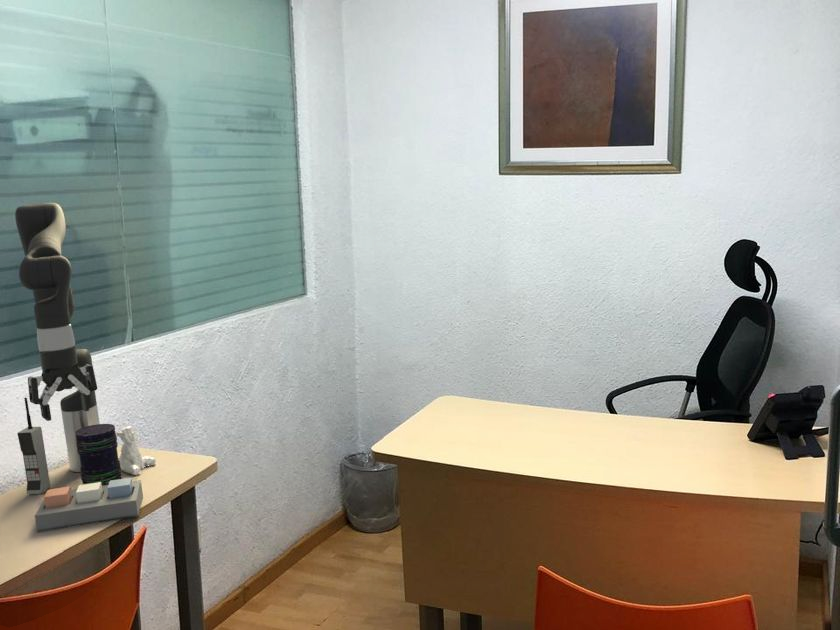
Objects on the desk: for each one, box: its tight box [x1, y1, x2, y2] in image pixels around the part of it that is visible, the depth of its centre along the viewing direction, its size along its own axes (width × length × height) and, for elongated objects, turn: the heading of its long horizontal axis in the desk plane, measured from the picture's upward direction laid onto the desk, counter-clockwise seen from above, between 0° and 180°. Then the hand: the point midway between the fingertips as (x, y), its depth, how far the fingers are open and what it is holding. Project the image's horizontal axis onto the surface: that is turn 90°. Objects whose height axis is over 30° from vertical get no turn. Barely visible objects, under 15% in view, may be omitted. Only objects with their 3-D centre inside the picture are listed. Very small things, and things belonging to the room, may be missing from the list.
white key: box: [76, 482, 103, 503], centre depth 200 cm, size 5×5×4 cm
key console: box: [34, 479, 144, 533], centre depth 200 cm, size 14×22×4 cm, turn 104°
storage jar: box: [75, 423, 123, 486], centre depth 219 cm, size 10×10×15 cm
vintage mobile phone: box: [17, 397, 51, 495], centre depth 216 cm, size 4×5×25 cm
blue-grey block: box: [108, 477, 133, 498], centre depth 202 cm, size 5×5×4 cm
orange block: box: [43, 486, 72, 508], centre depth 198 cm, size 5×5×4 cm
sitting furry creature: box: [116, 425, 156, 476], centre depth 229 cm, size 10×9×12 cm
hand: (67, 415), depth 191 cm, fingers open, 8 cm apart
